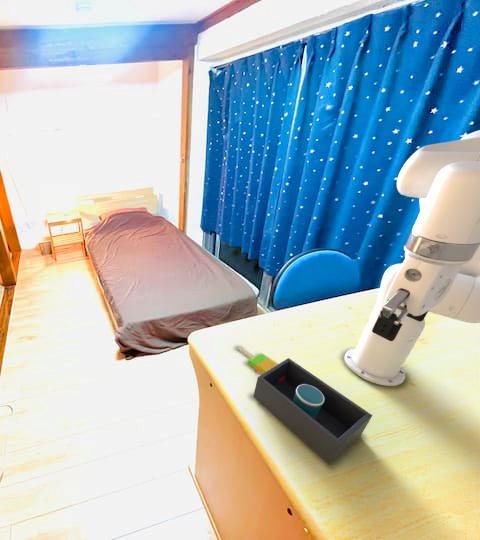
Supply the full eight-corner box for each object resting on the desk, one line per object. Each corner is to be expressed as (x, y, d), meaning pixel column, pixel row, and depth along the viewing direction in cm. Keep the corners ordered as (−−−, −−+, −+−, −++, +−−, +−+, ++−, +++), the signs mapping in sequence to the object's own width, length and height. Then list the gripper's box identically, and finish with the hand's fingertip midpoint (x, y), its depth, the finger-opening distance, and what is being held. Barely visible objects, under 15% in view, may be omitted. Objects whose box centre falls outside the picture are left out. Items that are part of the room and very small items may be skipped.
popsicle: (232, 355, 86) (278, 388, 75) (231, 349, 85) (277, 382, 73) (244, 345, 88) (291, 375, 76) (243, 339, 86) (291, 369, 74)
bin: (282, 377, 76) (288, 357, 73) (360, 436, 61) (372, 415, 58) (253, 396, 72) (257, 376, 68) (329, 465, 57) (340, 444, 53)
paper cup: (299, 399, 70) (305, 380, 66) (321, 416, 65) (329, 397, 62) (284, 409, 68) (291, 390, 64) (307, 428, 63) (315, 409, 60)
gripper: (444, 271, 38) (395, 358, 47) (499, 238, 44) (447, 321, 52) (380, 251, 44) (347, 331, 53) (435, 225, 50) (398, 301, 58)
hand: (397, 326), depth 53 cm, fingers open, 9 cm apart
